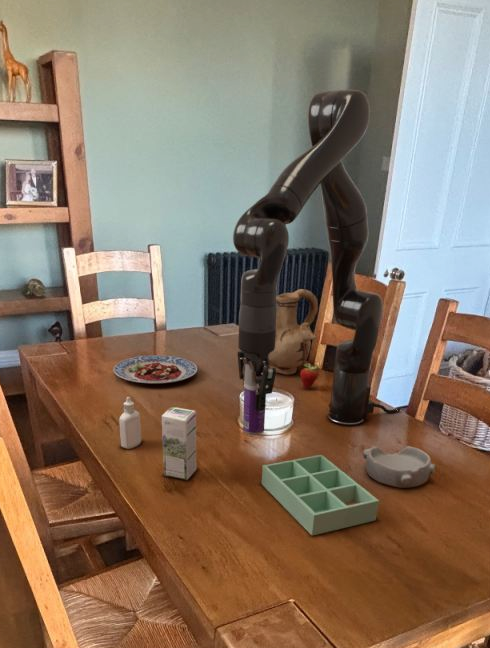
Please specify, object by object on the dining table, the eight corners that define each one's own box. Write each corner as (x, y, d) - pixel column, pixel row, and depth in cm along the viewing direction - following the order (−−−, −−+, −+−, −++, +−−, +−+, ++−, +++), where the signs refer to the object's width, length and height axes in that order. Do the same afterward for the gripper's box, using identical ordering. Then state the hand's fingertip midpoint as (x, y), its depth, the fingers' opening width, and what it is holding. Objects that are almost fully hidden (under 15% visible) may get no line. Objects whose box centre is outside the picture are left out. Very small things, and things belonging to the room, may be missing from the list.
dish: (353, 466, 141) (356, 447, 139) (403, 457, 146) (406, 438, 143) (390, 496, 130) (394, 475, 127) (442, 485, 135) (447, 465, 132)
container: (262, 435, 133) (265, 368, 125) (241, 433, 133) (242, 366, 125) (265, 427, 137) (269, 361, 129) (245, 425, 137) (247, 359, 129)
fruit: (319, 389, 184) (322, 364, 180) (306, 393, 181) (308, 366, 177) (308, 384, 187) (311, 359, 183) (295, 387, 185) (297, 361, 181)
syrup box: (197, 469, 138) (197, 409, 130) (186, 481, 133) (185, 419, 125) (174, 465, 139) (172, 405, 132) (163, 476, 134) (160, 415, 127)
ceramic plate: (213, 372, 194) (213, 363, 193) (162, 396, 176) (162, 386, 174) (150, 356, 206) (150, 348, 204) (96, 377, 187) (95, 367, 185)
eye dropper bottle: (146, 445, 147) (143, 398, 141) (124, 450, 145) (120, 402, 138) (138, 438, 150) (135, 392, 144) (117, 443, 148) (113, 396, 142)
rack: (319, 472, 138) (321, 454, 136) (375, 520, 122) (379, 500, 119) (261, 484, 133) (262, 465, 130) (311, 535, 116) (314, 515, 114)
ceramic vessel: (261, 359, 207) (265, 282, 194) (317, 364, 204) (325, 286, 191) (250, 376, 192) (253, 294, 179) (310, 383, 189) (318, 299, 176)
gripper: (290, 333, 119) (285, 415, 128) (258, 315, 130) (255, 392, 139) (256, 337, 116) (253, 420, 125) (226, 319, 127) (225, 396, 136)
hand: (254, 405), depth 132 cm, fingers closed on container, 4 cm apart
